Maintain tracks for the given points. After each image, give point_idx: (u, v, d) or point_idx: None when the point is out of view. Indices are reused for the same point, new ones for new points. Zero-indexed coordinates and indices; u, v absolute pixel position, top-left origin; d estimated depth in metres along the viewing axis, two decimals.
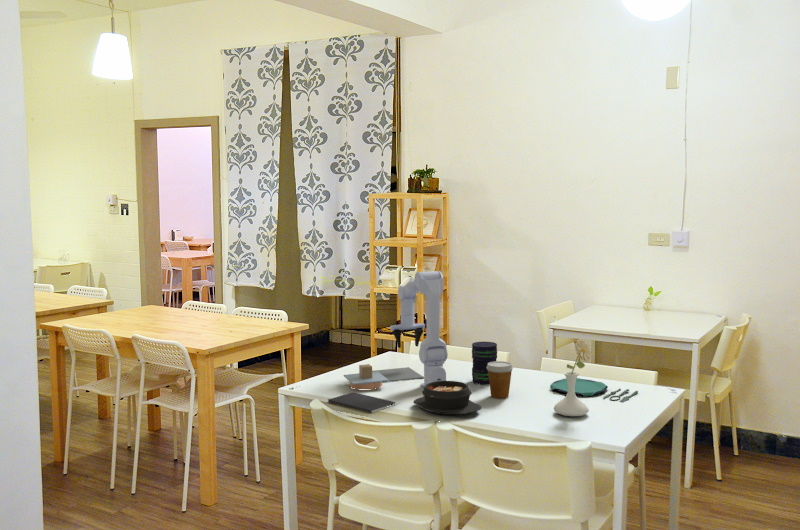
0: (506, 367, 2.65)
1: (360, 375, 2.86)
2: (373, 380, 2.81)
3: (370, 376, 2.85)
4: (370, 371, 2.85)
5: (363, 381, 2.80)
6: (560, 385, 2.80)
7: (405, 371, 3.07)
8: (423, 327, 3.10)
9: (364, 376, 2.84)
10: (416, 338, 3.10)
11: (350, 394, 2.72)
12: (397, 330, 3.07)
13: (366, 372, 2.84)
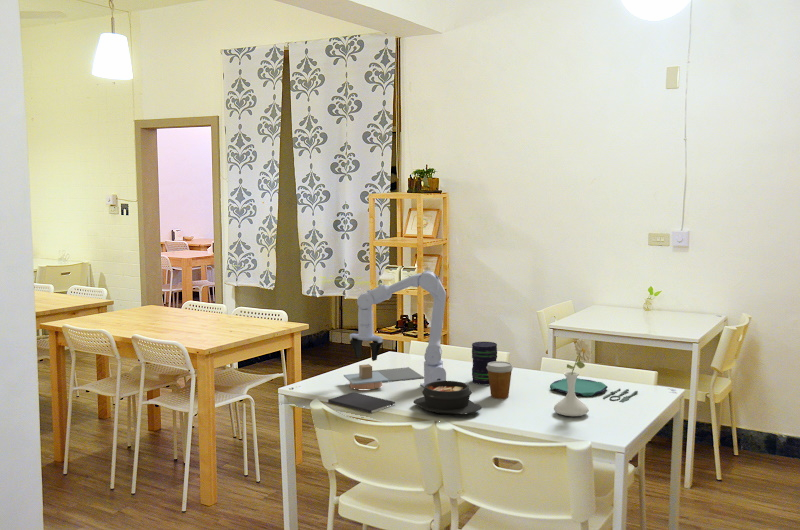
0: (506, 367, 2.65)
1: (360, 375, 2.86)
2: (373, 380, 2.81)
3: (370, 376, 2.85)
4: (370, 371, 2.85)
5: (363, 381, 2.80)
6: (560, 385, 2.80)
7: (405, 371, 3.07)
8: (377, 340, 2.81)
9: (364, 376, 2.84)
10: None
11: (350, 394, 2.72)
12: (355, 339, 2.87)
13: (366, 372, 2.84)
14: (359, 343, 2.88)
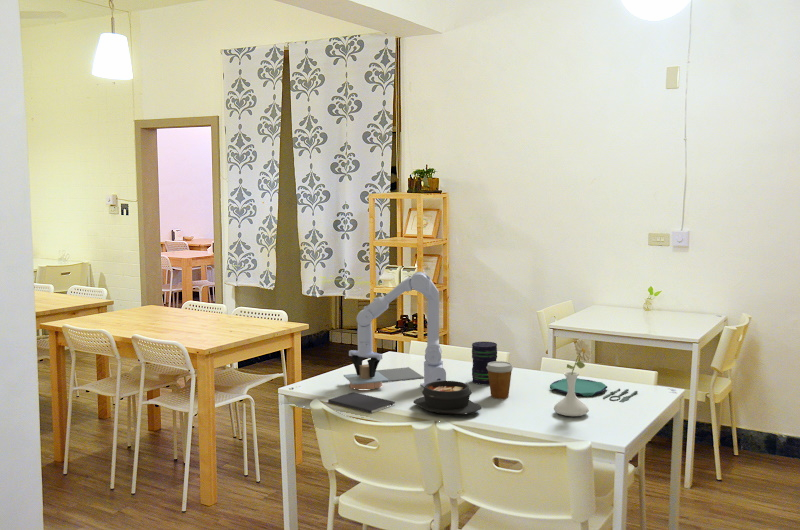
0: (506, 367, 2.65)
1: (360, 375, 2.86)
2: (373, 380, 2.81)
3: None
4: None
5: (363, 381, 2.80)
6: (560, 385, 2.80)
7: (405, 371, 3.07)
8: (377, 357, 2.81)
9: (364, 376, 2.84)
10: None
11: (350, 394, 2.72)
12: (355, 356, 2.87)
13: (366, 372, 2.84)
14: (360, 360, 2.88)
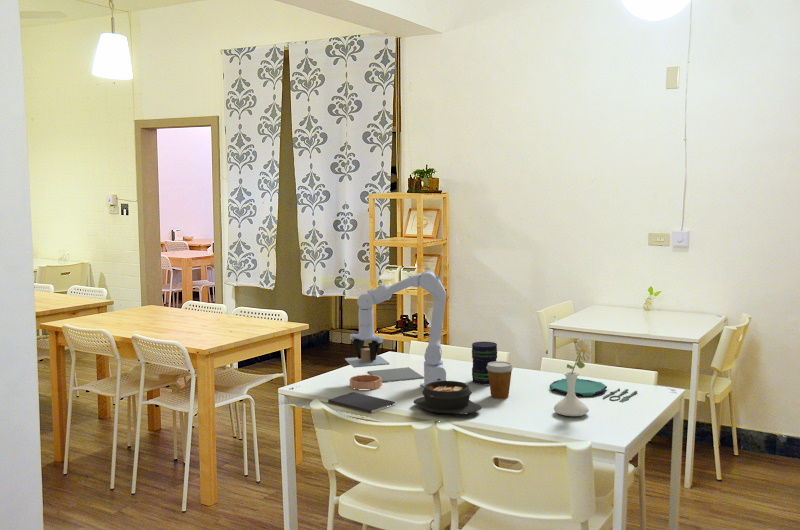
0: (506, 367, 2.65)
1: (361, 358, 2.86)
2: (374, 363, 2.81)
3: None
4: None
5: (364, 364, 2.80)
6: (559, 385, 2.79)
7: (405, 371, 3.07)
8: (378, 340, 2.81)
9: (365, 359, 2.84)
10: None
11: (350, 394, 2.72)
12: (356, 340, 2.87)
13: (367, 355, 2.84)
14: (361, 343, 2.88)
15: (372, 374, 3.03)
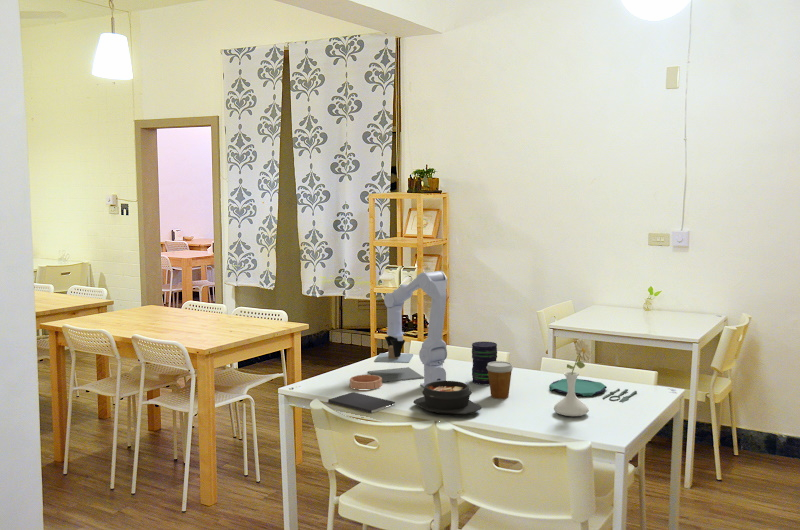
0: (506, 367, 2.65)
1: None
2: (395, 360, 2.96)
3: None
4: None
5: (385, 360, 2.97)
6: (559, 385, 2.79)
7: (405, 371, 3.07)
8: (397, 338, 2.95)
9: (390, 356, 3.00)
10: None
11: (350, 394, 2.72)
12: (389, 336, 3.05)
13: (392, 352, 3.00)
14: (393, 340, 3.05)
15: (372, 374, 3.03)
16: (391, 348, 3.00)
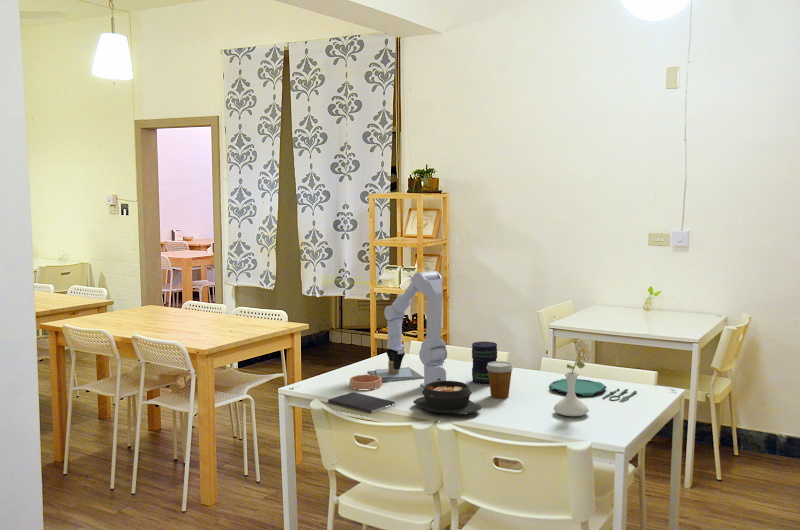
0: (506, 367, 2.65)
1: (388, 370, 3.03)
2: (397, 376, 2.97)
3: (397, 372, 3.01)
4: None
5: (388, 376, 2.97)
6: (559, 385, 2.79)
7: None
8: (397, 351, 2.96)
9: (391, 371, 3.01)
10: None
11: (350, 394, 2.72)
12: (390, 348, 3.05)
13: (393, 368, 3.01)
14: None
15: (372, 374, 3.03)
16: (392, 364, 3.00)
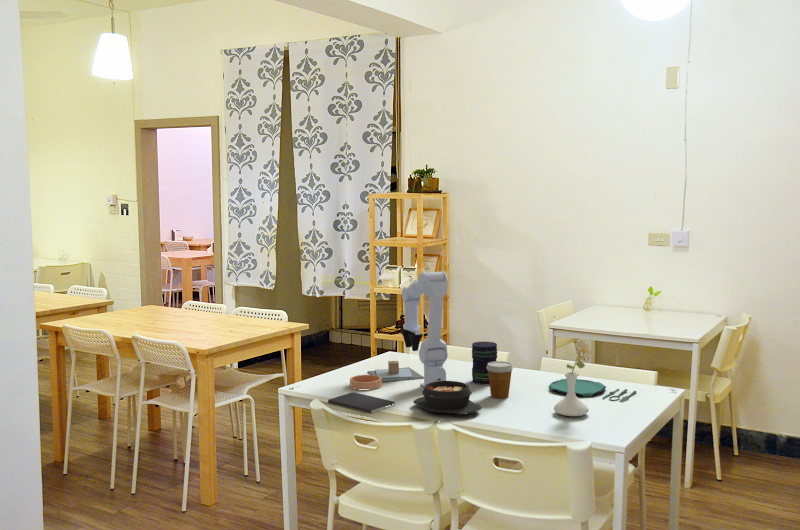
0: (506, 367, 2.65)
1: (388, 370, 3.03)
2: (397, 376, 2.97)
3: (397, 372, 3.01)
4: (397, 367, 3.01)
5: (388, 376, 2.97)
6: (558, 386, 2.79)
7: None
8: (414, 332, 2.99)
9: (391, 372, 3.01)
10: None
11: (350, 394, 2.72)
12: (405, 329, 3.09)
13: (393, 368, 3.01)
14: (409, 333, 3.09)
15: (372, 374, 3.03)
16: (392, 364, 3.00)
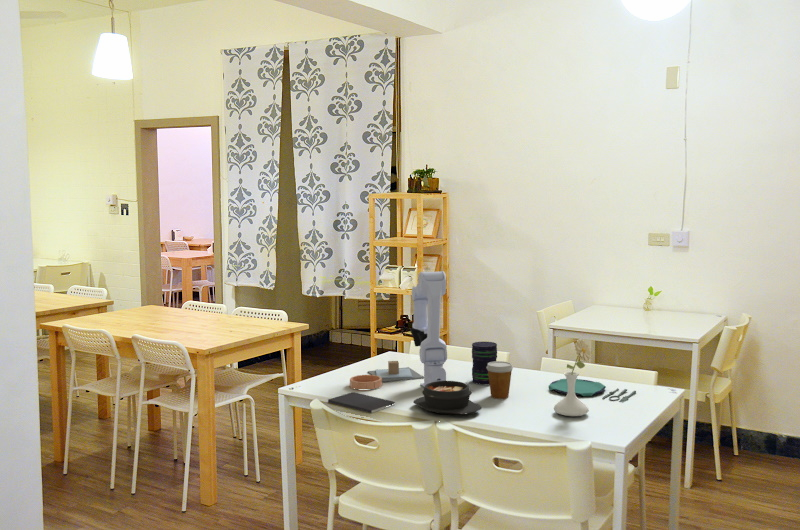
0: (506, 367, 2.65)
1: (388, 370, 3.03)
2: (397, 376, 2.97)
3: (397, 372, 3.01)
4: (397, 367, 3.01)
5: (388, 376, 2.97)
6: (558, 386, 2.79)
7: None
8: (424, 331, 3.01)
9: (391, 372, 3.01)
10: None
11: (350, 394, 2.72)
12: (414, 328, 3.11)
13: (393, 368, 3.01)
14: (418, 332, 3.11)
15: (372, 374, 3.03)
16: (392, 364, 3.00)
